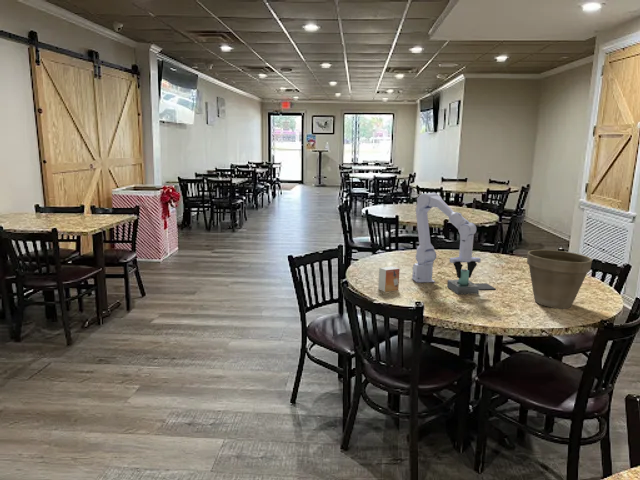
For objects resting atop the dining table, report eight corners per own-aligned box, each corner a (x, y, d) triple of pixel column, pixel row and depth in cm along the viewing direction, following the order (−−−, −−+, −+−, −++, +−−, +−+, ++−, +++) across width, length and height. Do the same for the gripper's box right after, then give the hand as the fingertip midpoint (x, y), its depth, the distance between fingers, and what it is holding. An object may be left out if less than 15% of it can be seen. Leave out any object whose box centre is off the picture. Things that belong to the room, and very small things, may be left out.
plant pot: (576, 297, 219) (582, 251, 215) (593, 315, 195) (600, 263, 191) (518, 292, 224) (522, 247, 220) (528, 309, 201) (533, 259, 196)
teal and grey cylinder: (460, 287, 223) (462, 271, 222) (456, 284, 228) (457, 268, 226) (469, 287, 224) (471, 270, 223) (465, 284, 228) (466, 268, 227)
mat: (477, 290, 227) (478, 289, 227) (469, 284, 236) (469, 283, 236) (495, 289, 228) (495, 288, 228) (486, 284, 237) (486, 283, 237)
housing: (457, 294, 220) (458, 287, 219) (447, 286, 231) (447, 279, 231) (478, 293, 221) (479, 286, 221) (466, 286, 233) (467, 279, 232)
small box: (384, 292, 221) (385, 270, 219) (377, 289, 226) (378, 267, 224) (398, 290, 224) (400, 268, 222) (391, 287, 229) (392, 265, 227)
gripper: (455, 251, 217) (452, 279, 220) (484, 250, 220) (482, 279, 222) (448, 247, 224) (446, 275, 227) (477, 247, 227) (475, 275, 229)
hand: (463, 277), depth 225 cm, fingers closed on teal and grey cylinder, 4 cm apart
